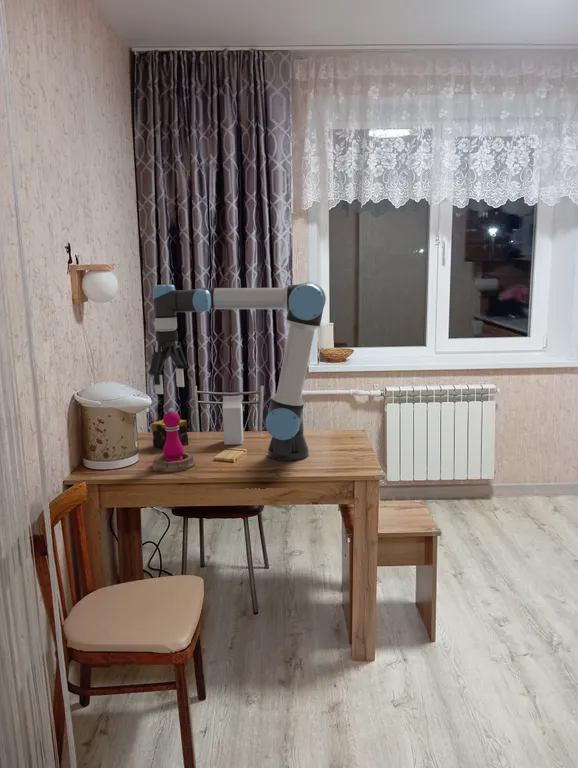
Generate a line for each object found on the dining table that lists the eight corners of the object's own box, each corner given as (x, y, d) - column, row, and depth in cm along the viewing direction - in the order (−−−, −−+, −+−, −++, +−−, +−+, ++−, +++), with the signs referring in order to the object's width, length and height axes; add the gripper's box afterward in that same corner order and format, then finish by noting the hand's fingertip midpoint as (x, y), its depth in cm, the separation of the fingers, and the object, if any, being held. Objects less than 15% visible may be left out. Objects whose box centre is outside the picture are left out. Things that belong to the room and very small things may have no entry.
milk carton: (242, 444, 270) (240, 397, 267) (224, 445, 270) (222, 398, 267) (243, 440, 277) (241, 394, 274) (226, 440, 277) (224, 394, 274)
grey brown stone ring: (202, 461, 248) (202, 453, 248) (180, 473, 235) (180, 465, 234) (167, 458, 254) (167, 449, 253) (144, 469, 240) (143, 461, 240)
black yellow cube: (189, 444, 273) (187, 420, 271) (171, 450, 264) (170, 425, 263) (169, 441, 278) (168, 417, 276) (152, 447, 270) (151, 422, 268)
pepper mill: (180, 465, 240) (176, 410, 236) (160, 465, 241) (157, 410, 238) (187, 459, 247) (184, 406, 243) (168, 459, 248) (165, 405, 245)
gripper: (176, 326, 248) (179, 383, 252) (136, 333, 226) (140, 396, 230) (194, 326, 245) (197, 384, 249) (155, 333, 223) (159, 397, 227)
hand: (170, 390), depth 239 cm, fingers open, 13 cm apart
